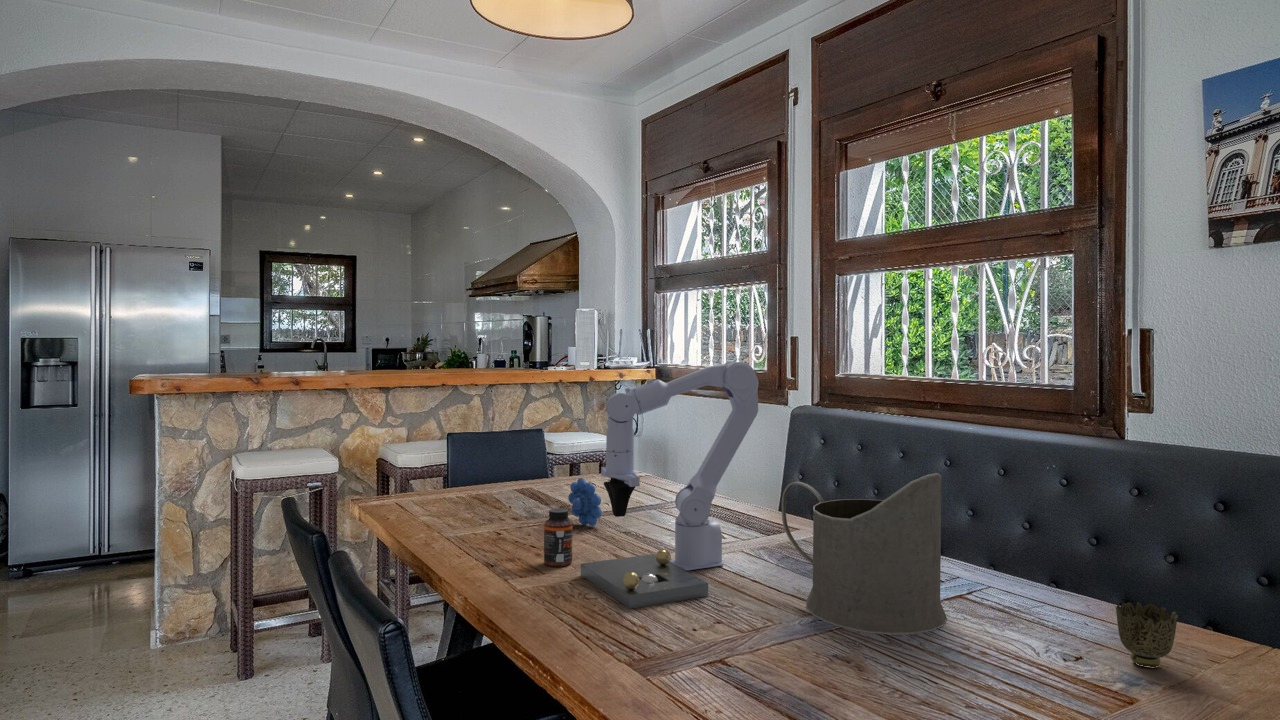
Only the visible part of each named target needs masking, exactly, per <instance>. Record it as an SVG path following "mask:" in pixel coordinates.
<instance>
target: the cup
mask: <svg viewBox="0 0 1280 720" xmlns="http://www.w3.org/2000/svg"><path fill="white" fill-rule="evenodd" d="M1116 604H1117V605H1115V606H1114V607H1115V612H1116V613H1115V614H1116V621H1117V630H1118V634H1119V636H1118V637H1119V639H1120V642H1121V643H1122V645H1123V647H1124V648H1125V649H1126V650H1127V651H1128V652H1130V657H1129V658H1130V660H1131V662H1132V661H1133V662H1134V663H1137V664H1139V665H1143V666H1150V667H1156V666H1159V665H1160V666H1161V664H1162V661H1161V658H1163V657H1166V656H1167V655H1168V654H1170V652H1171V651H1172V649H1173V646H1174V641H1175V637H1176V629H1177V623H1178V618H1179V615H1178V614H1177V613H1176V611H1172V612H1171V614H1170V613H1167V610H1166V608H1165V607H1164V606H1160V608H1158V607H1157V606H1156V605H1154V604H1153V603H1149V604H1146V605H1145V606H1143V604H1141V603H1140V602H1139V601H1138V602H1136V604H1135V605H1134V604H1133V603H1131V602H1130V601H1128V602H1126V603H1125V601H1123V602H1122V603H1121V605H1119V603H1116ZM1133 662H1132V663H1133ZM1134 663H1133V664H1134ZM1160 666H1159V667H1160Z"/></svg>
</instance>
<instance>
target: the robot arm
mask: <svg viewBox="0 0 1280 720" xmlns="http://www.w3.org/2000/svg"><path fill="white" fill-rule="evenodd" d="M645 382H646V383H643V384H640V385H637V386H635V387H632V388H630V387H628V386H627V387H626V388H624V391H625V393H624V392H616V393H614V394H611V396H609V398H608V399H607V402H606V405H605V411H606V413H607V415H608V417H607V419H606V425H607V428H606V433H605V434H606V438H605V439H606V440H605V441H606V444H605V445H606V447H605V448H606V449H605V451H606V452H605V453H606V455H605V456H606V457H605V459H606V460H605V463H606V464H605V466H601V467H600V468H601V469H600V476H601V477H603V478H605V477H607V478H609V479H610V480H608V481H604V482H603V486H604V488H605V491H607V492H606V493H607V494H608V497H609V500H610V501H609V502H610V505H611V510H612V514H613V516H614V517H617V518H619V517H626V514H627V510H628V505H629V501H630V500H631V499H630V498H631V495H632V494H633V492H634V491H635V489H636V487H640V484H641V481H640V478H641V477H640V476H639V475H637V473H636V472H635V471H634V470H635V469H634V466H635V465H634V462H635V461H634V459H635V457H634V451H635V449H634V448H635V428H634V418H633V417H634V416H635V415H643V414H645V413H646V414H647V413H649V412H652V411H654V410H658V409H660V408H662V407H666V406H667V405H668V404H669V402H670V400H671V398H672V397H675V396H678V395H682V394H684V393H687V392H691V391H694V390H697V389H699V388H702V387H706V386H709V387H710V386H711V387H717V388H723V390H724V392H725V393H726V394H727V396H728V399H729V402H730V404H731V408H732V410H731V412H730V413H729V415H728V417H727V418H726V420H725V422H724V424H723V426H722V428H721V429H720V431H719V433H718V435H717V437H716V438H715V440H714V442H713V444H711V447H710V449H709V451H707V454H706V456H705V458H704V460H703V461H702V463H701V465H700V467H699V468H698V470H697V472H696V473H695V474H694V476H692V478H690V479H689V481H688V483H687V484H686V485H685V486H684V487H683V488H681V489H680V490H679V491H678V492H677V494H676V496H675V498H674V499H675V501H674V502H675V503H674V504H675V507H676V509H677V511H678V512H679V513H678V514H677V515H678V516H676V518H675V529H674V530H675V532H674V541H675V542H674V558H671V560H670V562H669V563H670V564H672V565H674V566H676V567H678V568H680V569H682V570H684V571H686V572H688V571H694V570H695V571H696V570H700V569H701V570H702V569H706V568H707V569H708V568H716V567H721V566H724V562H723V560H722V559H723V550H722V549H723V533H722V530H721V527H720V525H719V523H718V522H717V521H716V520H712V519H710V518H709V517H710V514H711V511H712V510H711V508H712V506H711V505H712V502H713V500H714V498H715V495H716V493H717V492H716V491H717V486H718V484H719V483H720V481H721V479H722V477H723V476H724V474H725V472H726V471H727V469H728V467H729V465H730V463H731V462H732V460H733V458H734V457H735V455H736V453H737V451H738V449H739V448H740V446H741V444H742V442H743V440H744V439H745V438H746V437H745V436H746V435H747V434H748V431H749V430H750V428H751V426H752V425H753V422H754V420H755V419H756V417H757V416H758V412H759V396H758V393H759V392H758V388H759V384H760V383H759V380H758V377H757V375H756V372H755V370H754V368H753V367H752V366H751V365H750V364H748V363H747V362H744V361H734V360H733V361H726V362H725V363H720V364H714V365H710V366H706V367H703V368H701V369H698V370H696V371H693V372H690V373H688V374H686V375H683V376H680V377H678V378H675V379H673V380H669V381H668V382H666V381H665V382H664V381H663V380H660V379H655V380H654V379H653V378H650V379H647V380H645Z"/></svg>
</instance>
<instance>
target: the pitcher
mask: <svg viewBox="0 0 1280 720" xmlns="http://www.w3.org/2000/svg"><path fill="white" fill-rule="evenodd" d="M794 485H797V486H801V487H804V488H805V489H807V490H809V491H810V492H811V493H812V494H814V496H815V497H816V498H817V500H818V503H816V504H815V505H813V507H812V509H813V511H812V513H813V516H812V517H813V518H812V520H813V521H812V524H813V525H812V526H813V527H812V528H813V529H812V531H813V532H812V533H813V534H812V536H813V537H812V557H811V556H809V555H808V554H807V553H806V552H805V551H804V550H803V549H802V548H801V547H800V545H799V544H798V543H797V541H796V540H795V538H794V537H793V536H794V535H792V533H791V531H790V528H789V525H788V521H787V496H788V493H789V491H790V489H791V488H792V486H794ZM781 518H782V519H781V521H782V525H783V528H784V531H785V535H786V536H787V538H788V539H789V541H790V543H791V544H792V546H793V547H794V548H795V550H796V551H797V552H798V553H799V554H800V555H801V556H802V557H803V558H804V559H805V560H806V561H808V562H809V563H811V564H812V587H811V590H810V592H809V595H807V596H808V597H807V598H806V602H805V603H806V605H805V609H806V610H807V611H808V612H809V613H810V614H811V615H812V616H813V617H816V618H817V619H819V620H822V621H823V622H824V623H827V624H831V625H833V626H835V627H836V626H837V627H840V628H842V629H846V630H851V631H857V632H861V633H865V634H866V633H867V634H877V635H878V634H879V635H887V636H888V635H889V636H894V635H895V636H897V635H899V636H900V635H901V636H902V635H918V634H923V632H924V633H929V632H928V631H930V632H933V631H935V630H937V628H938V629H940V628H941V626H942V625H943V626H944V625H945V624H946V622H945V621H947V620H948V618H947V615H946V612H945V609H944V607H943V604H942V602H941V571H942V570H941V564H942V563H941V561H942V559H941V558H942V557H941V556H942V555H941V552H942V549H941V546H942V545H941V544H942V541H941V540H942V475H941V474H939V473H938V472H935V473H930V474H926V475H923V476H921V477H919V478H917V479H914V480H912V481H910V482H909V483H906V484H905V485H904V486H902V487H901V488H899V489H898V490H897V491H895V492H894V493H892V494H891V495H889V497H887V498H886V499H884V500H883V499H868V498H867V499H865V498H859V499H858V498H856V499H855V498H853V499H852V498H851V499H850V498H848V499H846V498H845V499H833V500H827V501H824V498H823V497H822V495H821V494H820V492H818V490H816V489H815V488H814V487H812V485H809V484H808V483H805V482H801V481H793V482H790V483H789V484H788V485H787V486H786V487H785V488H784V490H783V492H782V495H781ZM946 619H947V620H946ZM944 623H945V624H944ZM943 626H942V627H943ZM939 627H940V628H939Z"/></svg>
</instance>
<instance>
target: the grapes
mask: <svg viewBox="0 0 1280 720" xmlns="http://www.w3.org/2000/svg"><path fill="white" fill-rule="evenodd" d="M569 489H570V491H571V492H569V494H568V498H567V499H568V502H569V503H570V504H571V505H572V507H571V513H572V515H573V516H574V517H577V518H578V521H579V523H580V525H582V524H583V526H587V525H589V526H591V527H594V526H596V525H597V523H598V519H600V518H601V517H602V515H603V514H602V513H603V511H602V509H601V508H600V507H599V506H600V505H601V504H602V503H601V502H602V499H601V496H600V495H599V494H598V493H596V486H595V485H594V484H593V482H592V483H591V482H587V480H586V479H585V478H582V477H580V478H578V479H577V481H574V482H572V483H571V484H570V487H569ZM586 524H587V525H586Z"/></svg>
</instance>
